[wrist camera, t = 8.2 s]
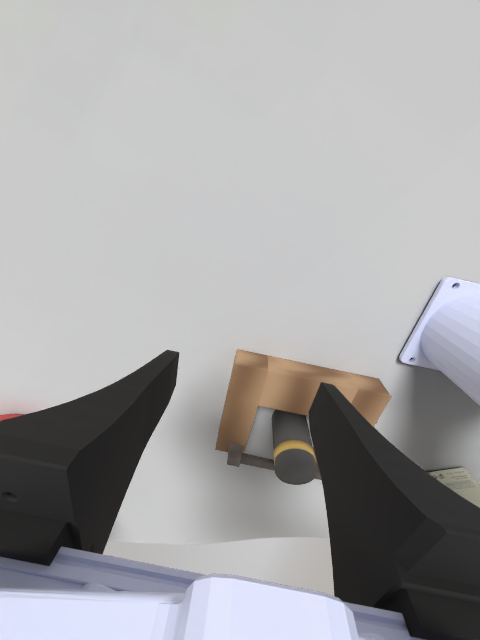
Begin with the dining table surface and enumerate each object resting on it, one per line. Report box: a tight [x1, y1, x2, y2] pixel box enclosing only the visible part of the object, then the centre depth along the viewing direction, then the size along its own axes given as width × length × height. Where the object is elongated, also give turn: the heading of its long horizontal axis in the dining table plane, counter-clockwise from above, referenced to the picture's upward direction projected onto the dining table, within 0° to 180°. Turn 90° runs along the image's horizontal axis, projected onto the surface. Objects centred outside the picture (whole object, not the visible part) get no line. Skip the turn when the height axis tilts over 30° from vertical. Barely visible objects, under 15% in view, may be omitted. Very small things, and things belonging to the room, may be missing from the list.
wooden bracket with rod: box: [215, 349, 391, 480], centre depth 24 cm, size 14×11×4 cm
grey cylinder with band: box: [272, 409, 318, 485], centre depth 24 cm, size 4×4×6 cm
